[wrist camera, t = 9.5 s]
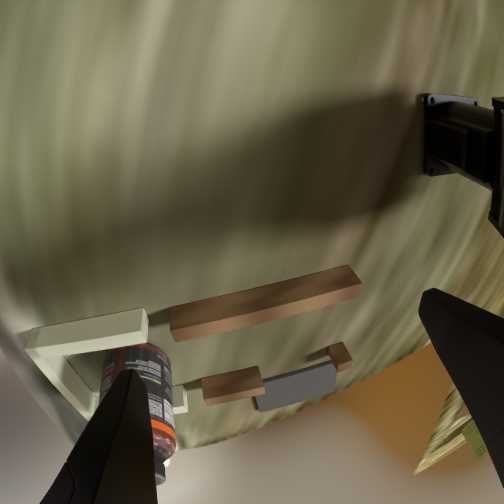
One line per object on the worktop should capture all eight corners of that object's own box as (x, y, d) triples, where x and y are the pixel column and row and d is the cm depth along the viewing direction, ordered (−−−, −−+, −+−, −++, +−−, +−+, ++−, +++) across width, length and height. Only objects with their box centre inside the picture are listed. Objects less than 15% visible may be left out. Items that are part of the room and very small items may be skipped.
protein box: (459, 431, 77) (477, 460, 64) (483, 406, 69) (504, 438, 56) (475, 421, 79) (492, 449, 66) (498, 397, 72) (517, 426, 59)
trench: (347, 264, 23) (362, 282, 21) (341, 349, 29) (351, 367, 27) (170, 307, 22) (170, 330, 20) (204, 385, 28) (207, 406, 25)
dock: (143, 307, 22) (140, 330, 20) (186, 391, 28) (188, 412, 26) (33, 328, 21) (24, 349, 19) (91, 402, 27) (89, 421, 24)
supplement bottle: (108, 376, 25) (99, 485, 15) (103, 332, 22) (83, 459, 13) (169, 382, 27) (177, 492, 17) (174, 340, 24) (181, 469, 14)
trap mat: (336, 358, 30) (338, 361, 29) (333, 388, 33) (334, 391, 32) (251, 382, 29) (252, 385, 28) (259, 409, 32) (259, 412, 32)
